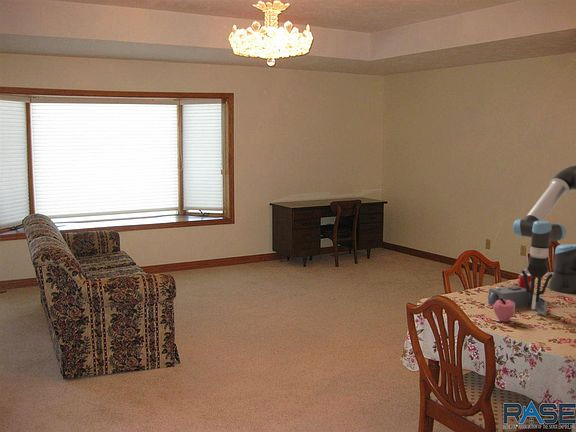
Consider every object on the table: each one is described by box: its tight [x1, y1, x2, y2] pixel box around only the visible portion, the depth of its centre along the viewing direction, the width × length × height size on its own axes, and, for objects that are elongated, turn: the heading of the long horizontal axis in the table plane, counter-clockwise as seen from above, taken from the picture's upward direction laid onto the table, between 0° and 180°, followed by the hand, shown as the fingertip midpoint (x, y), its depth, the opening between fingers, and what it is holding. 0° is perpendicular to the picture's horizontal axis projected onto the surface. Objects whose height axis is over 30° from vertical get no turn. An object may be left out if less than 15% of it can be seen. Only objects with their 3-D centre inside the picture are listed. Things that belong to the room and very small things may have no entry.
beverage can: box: [517, 272, 532, 290], centre depth 296 cm, size 6×6×12 cm
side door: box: [527, 292, 548, 317], centre depth 276 cm, size 16×2×7 cm, turn 2°
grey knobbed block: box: [487, 285, 529, 308], centre depth 285 cm, size 18×9×8 cm, turn 113°
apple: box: [492, 298, 516, 323], centre depth 261 cm, size 10×9×10 cm
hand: (533, 308), depth 273 cm, fingers closed
